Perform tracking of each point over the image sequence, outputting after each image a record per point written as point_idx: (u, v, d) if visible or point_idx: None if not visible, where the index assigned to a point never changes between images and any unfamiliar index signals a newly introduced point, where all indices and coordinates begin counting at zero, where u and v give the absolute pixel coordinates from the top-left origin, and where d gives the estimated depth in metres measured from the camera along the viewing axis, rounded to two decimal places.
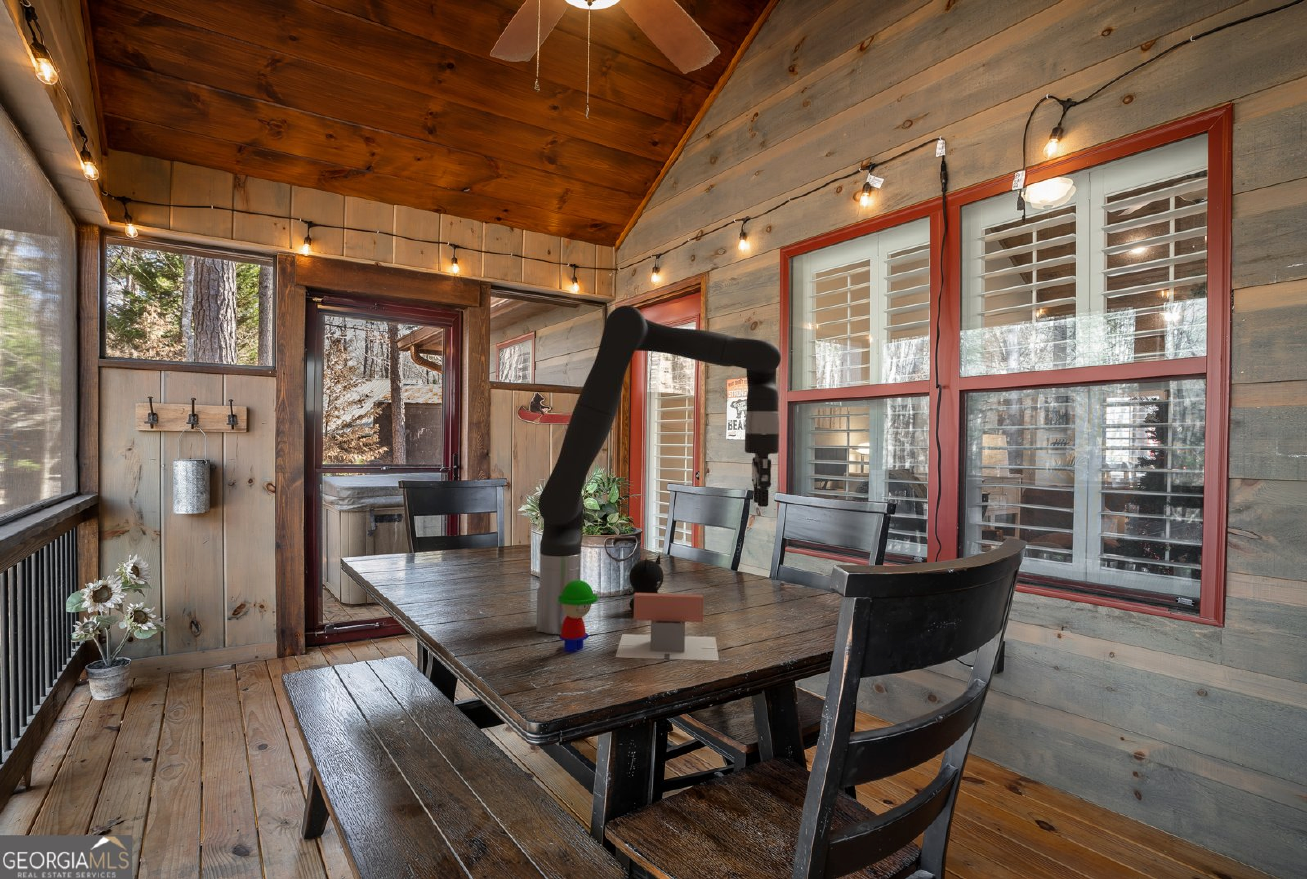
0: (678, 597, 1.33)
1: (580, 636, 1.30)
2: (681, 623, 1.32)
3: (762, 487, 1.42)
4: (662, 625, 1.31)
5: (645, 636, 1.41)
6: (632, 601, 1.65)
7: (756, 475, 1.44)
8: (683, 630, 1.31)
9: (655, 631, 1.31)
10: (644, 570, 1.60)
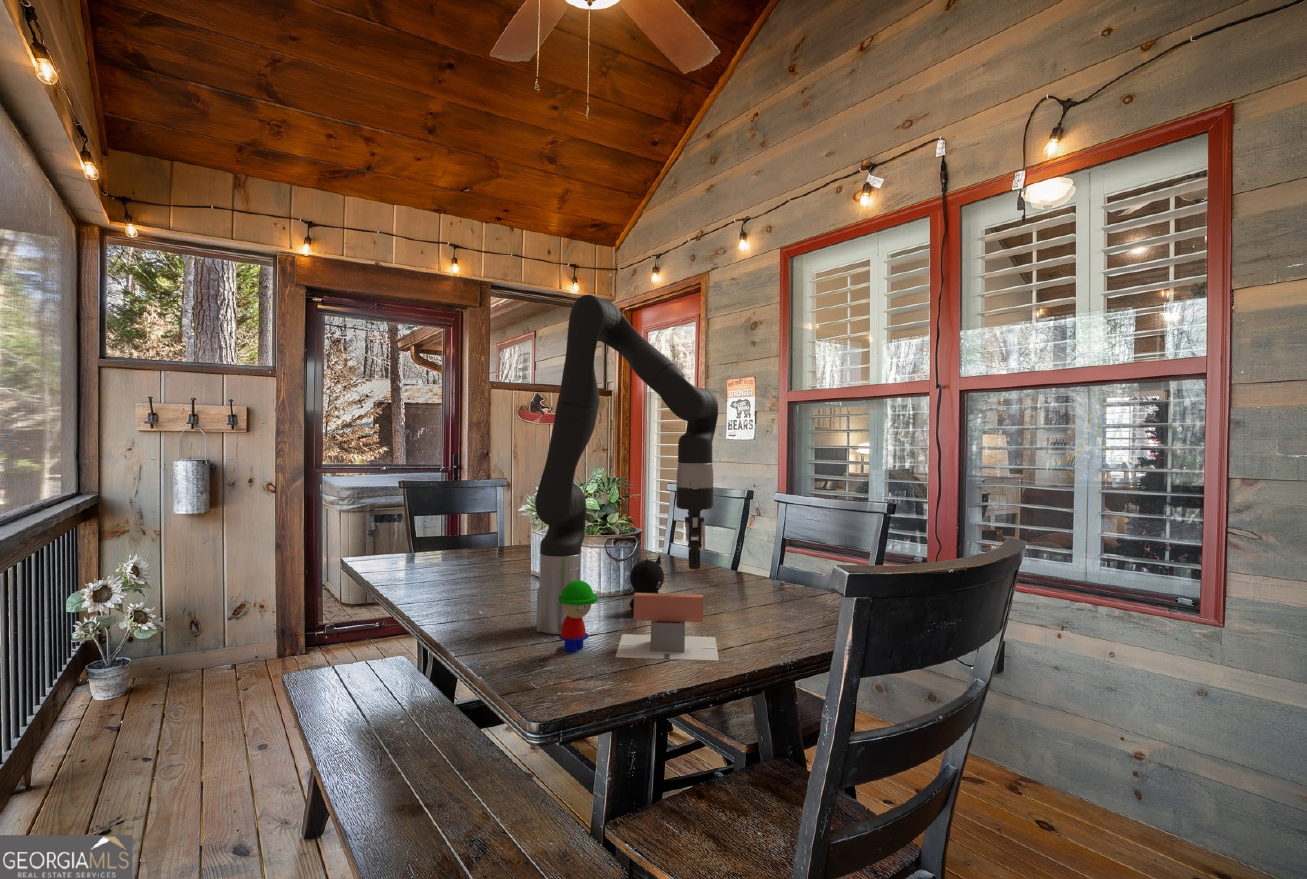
0: (678, 597, 1.33)
1: (580, 636, 1.30)
2: (681, 623, 1.32)
3: (692, 548, 1.28)
4: (662, 625, 1.31)
5: (645, 636, 1.41)
6: (632, 601, 1.64)
7: (687, 534, 1.31)
8: (683, 630, 1.31)
9: (655, 631, 1.31)
10: (645, 570, 1.60)
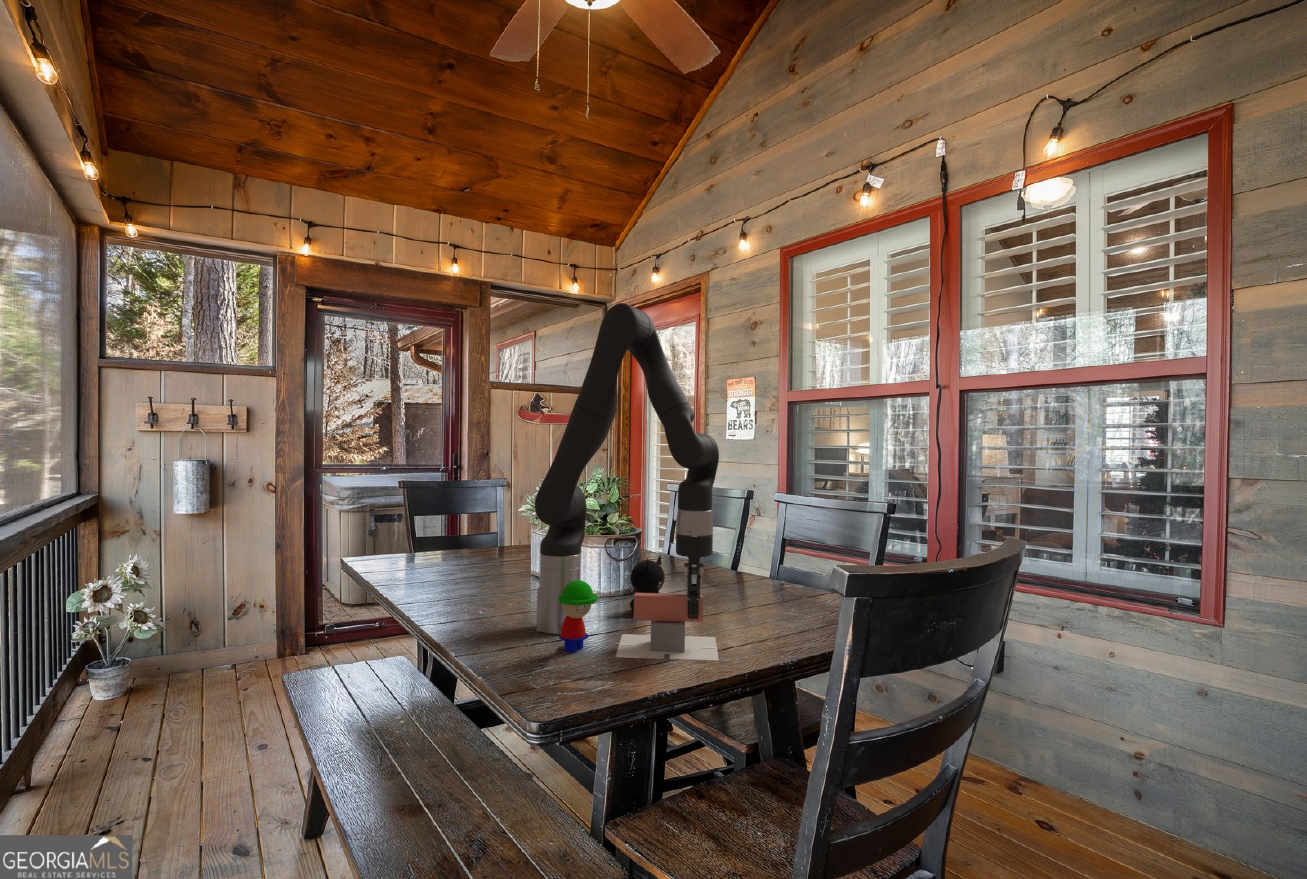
0: (678, 597, 1.33)
1: (580, 636, 1.30)
2: (681, 623, 1.32)
3: (691, 599, 1.31)
4: (662, 625, 1.31)
5: (645, 636, 1.41)
6: (633, 602, 1.64)
7: (686, 585, 1.32)
8: (683, 630, 1.31)
9: (655, 631, 1.31)
10: (646, 570, 1.59)
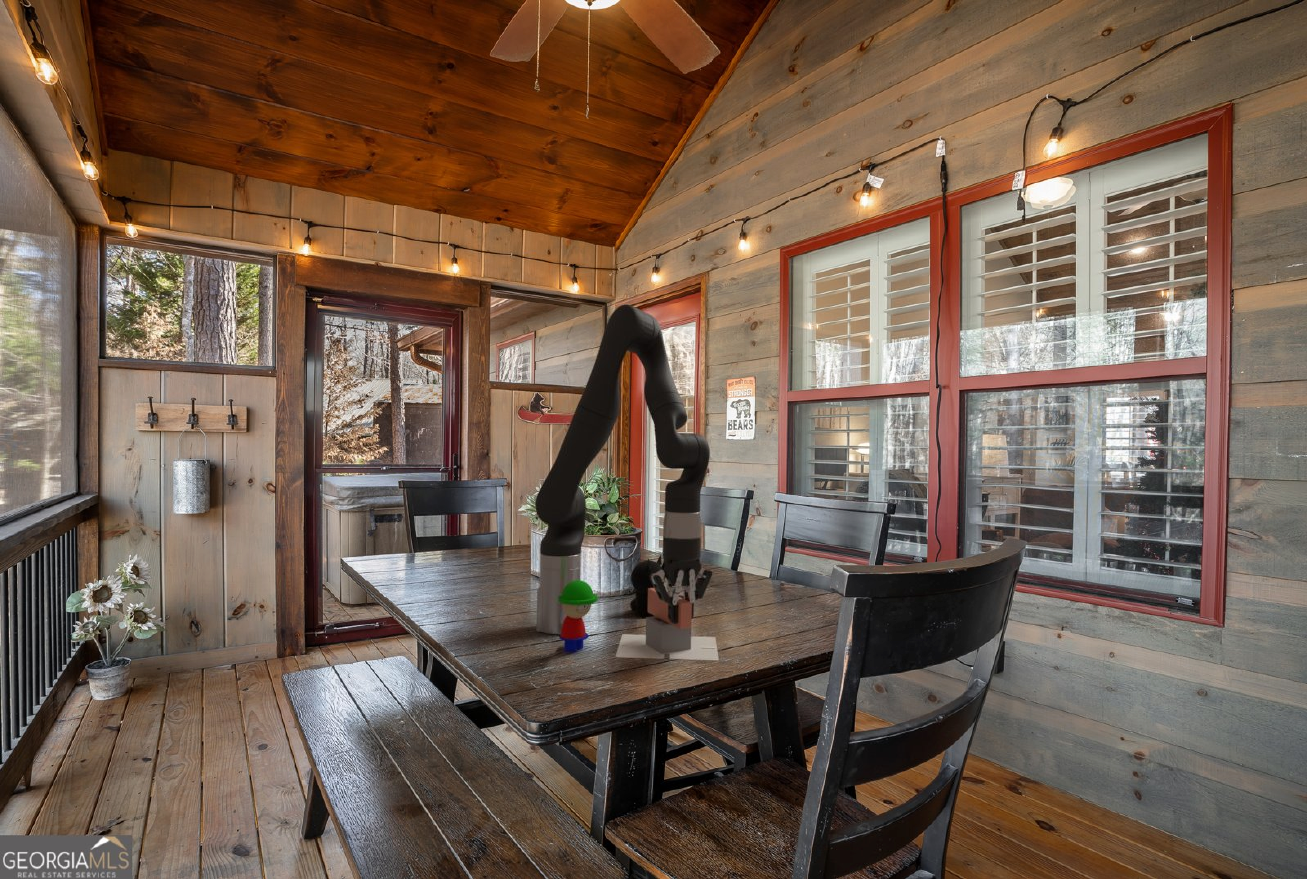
0: None
1: (580, 636, 1.30)
2: (663, 624, 1.31)
3: None
4: (651, 621, 1.34)
5: (645, 636, 1.41)
6: (633, 602, 1.64)
7: (667, 586, 1.30)
8: (661, 631, 1.30)
9: (648, 625, 1.35)
10: (647, 571, 1.59)
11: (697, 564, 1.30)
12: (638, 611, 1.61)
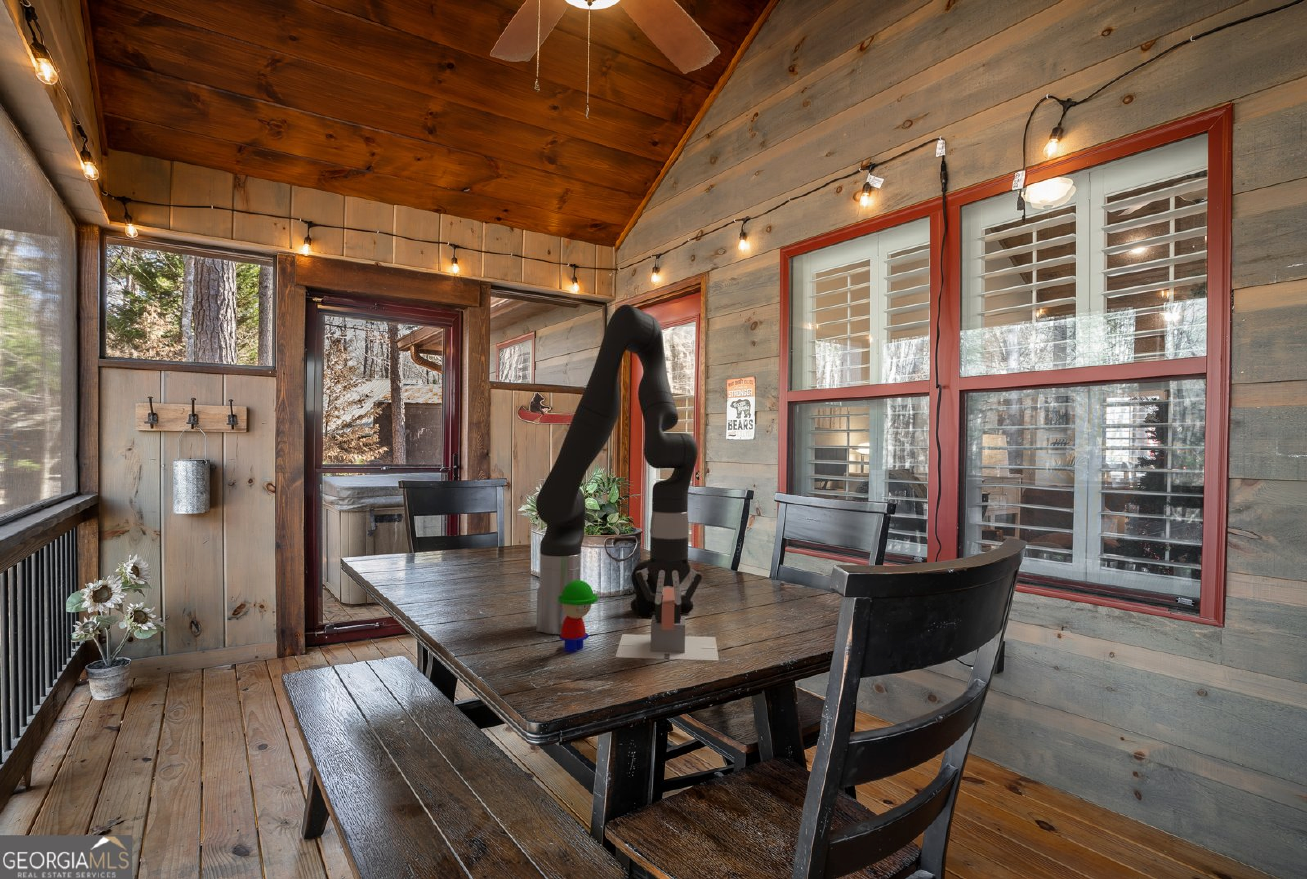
0: (663, 598, 1.32)
1: (580, 636, 1.30)
2: (655, 623, 1.31)
3: None
4: (652, 619, 1.35)
5: (645, 636, 1.41)
6: (633, 602, 1.63)
7: None
8: (651, 629, 1.31)
9: None
10: None
11: (684, 566, 1.28)
12: (638, 611, 1.61)
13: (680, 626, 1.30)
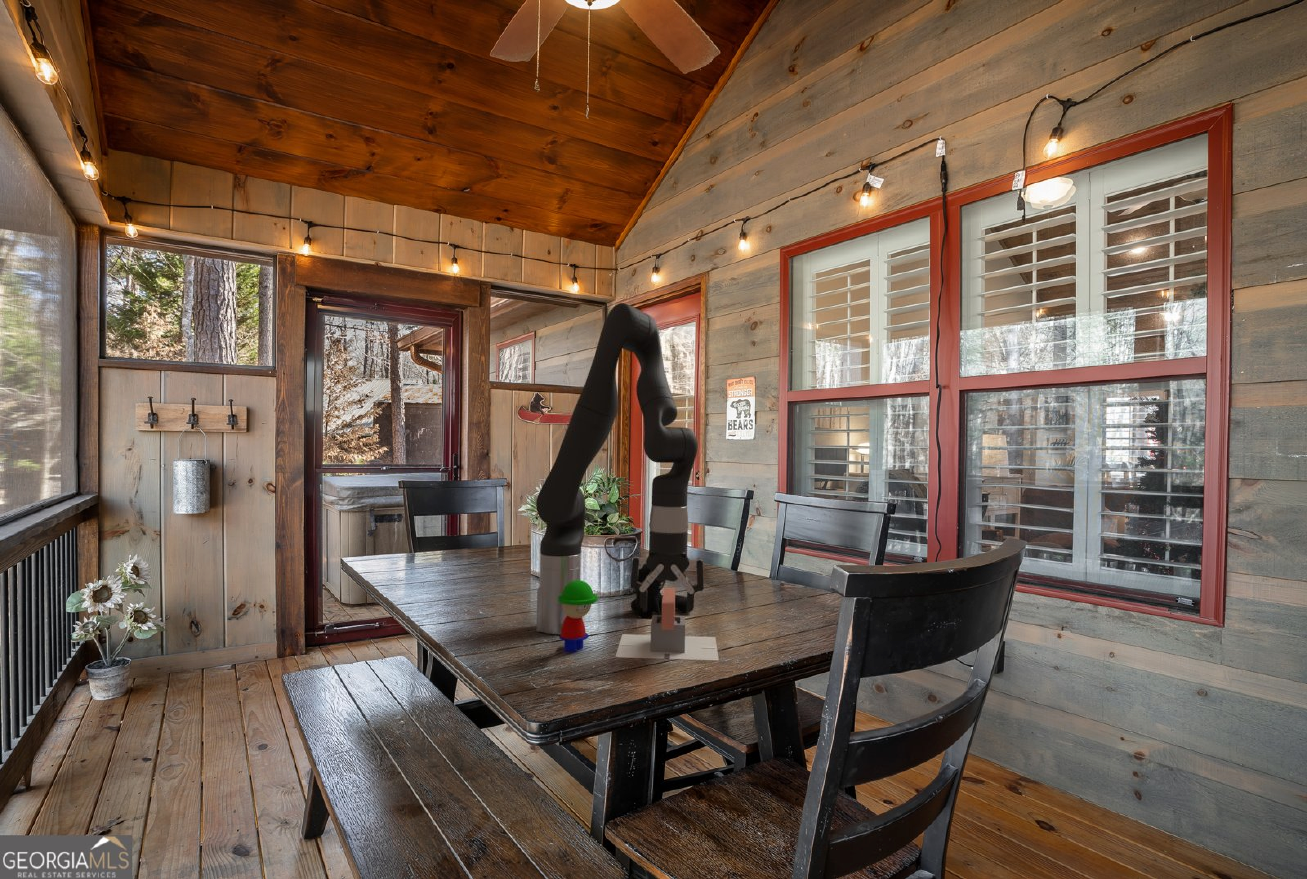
0: (663, 598, 1.32)
1: (580, 636, 1.30)
2: (655, 623, 1.31)
3: None
4: (652, 619, 1.35)
5: (645, 636, 1.41)
6: (634, 602, 1.63)
7: None
8: None
9: None
10: (648, 571, 1.59)
11: (681, 561, 1.28)
12: (639, 611, 1.61)
13: (680, 626, 1.31)
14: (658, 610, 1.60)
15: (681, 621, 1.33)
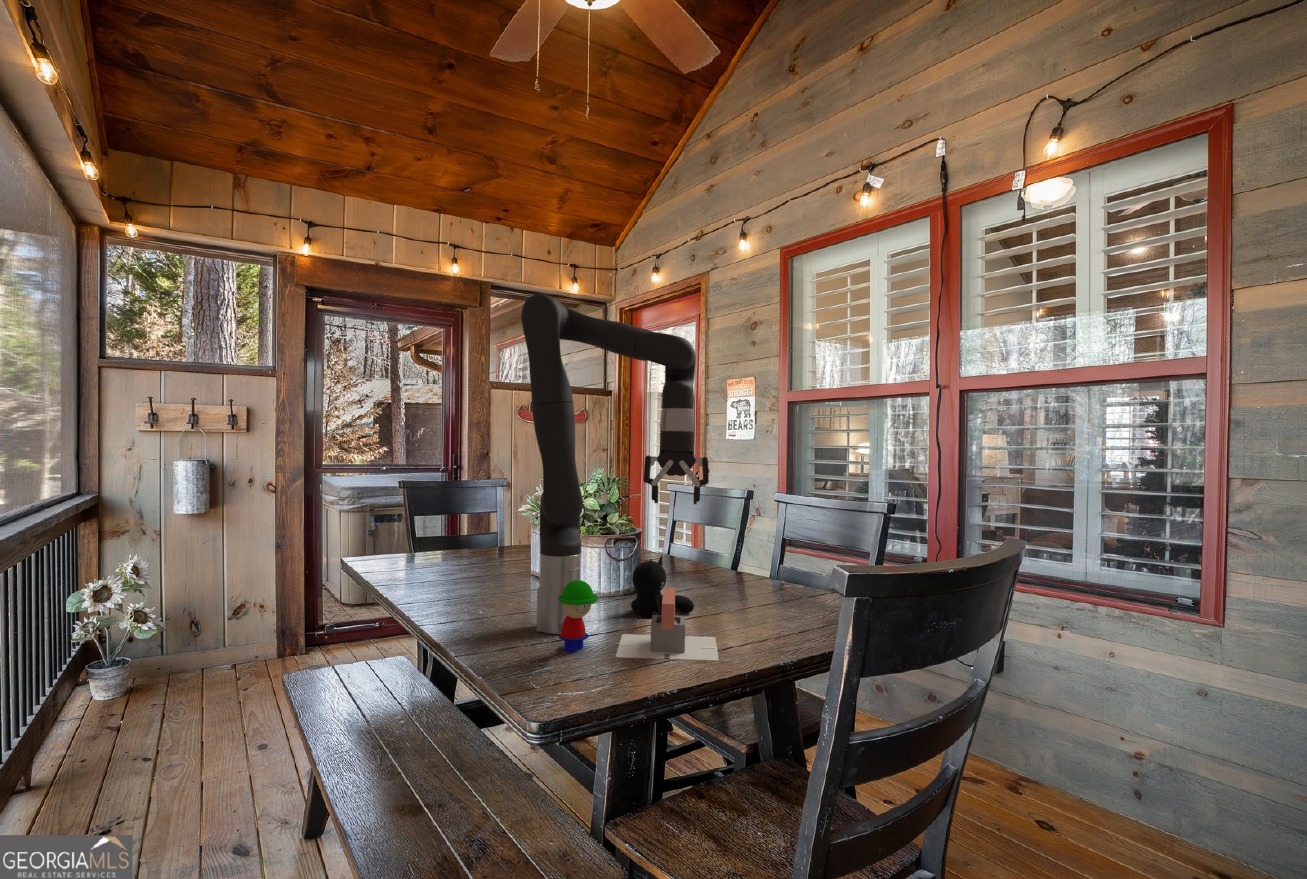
0: (663, 598, 1.32)
1: (580, 636, 1.30)
2: (655, 623, 1.31)
3: None
4: (652, 619, 1.35)
5: (645, 636, 1.41)
6: (634, 603, 1.63)
7: None
8: None
9: None
10: (649, 571, 1.59)
11: (688, 457, 1.43)
12: (640, 612, 1.60)
13: (680, 626, 1.31)
14: (659, 610, 1.59)
15: (681, 621, 1.33)
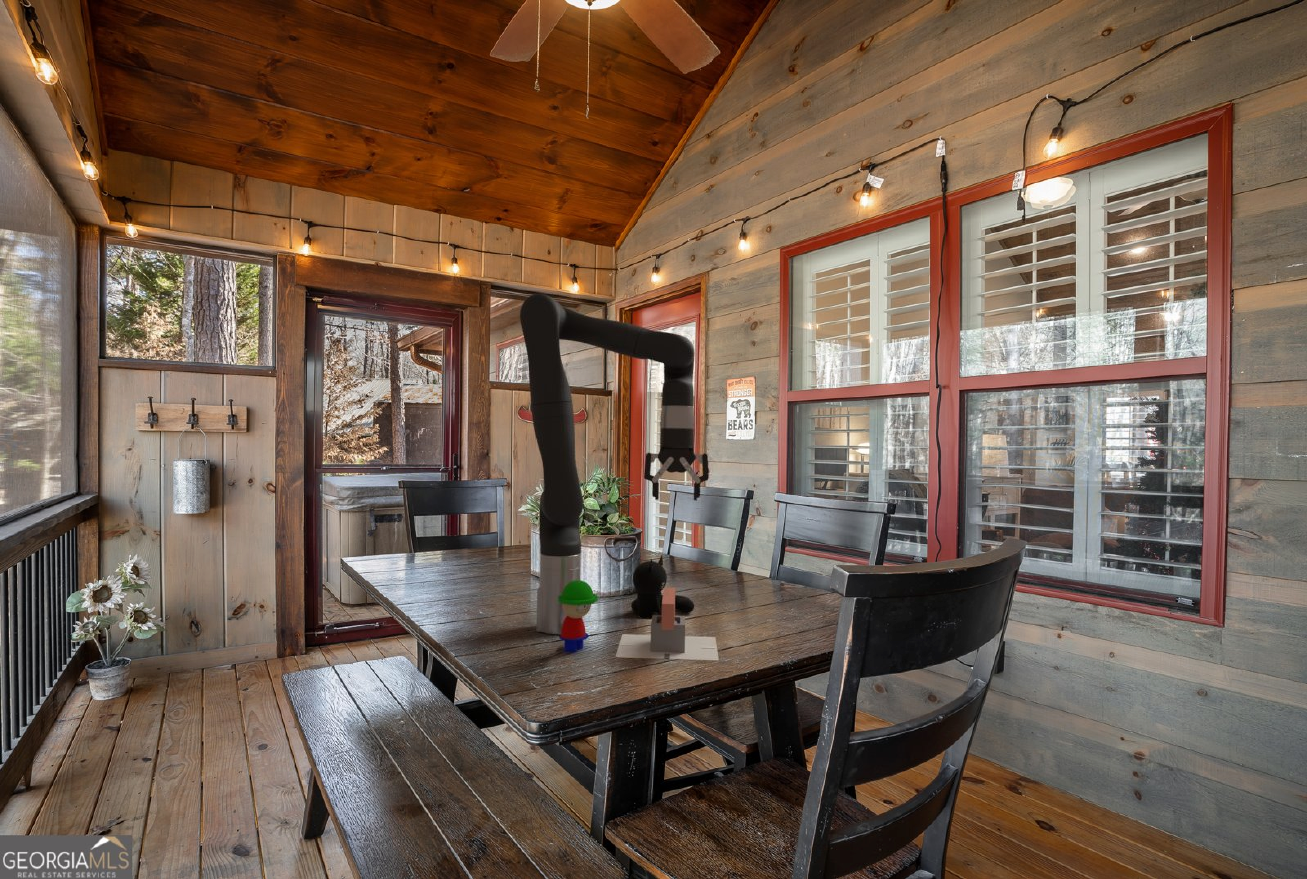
0: (663, 598, 1.32)
1: (580, 636, 1.30)
2: (655, 623, 1.31)
3: None
4: (652, 619, 1.35)
5: (645, 636, 1.41)
6: (635, 603, 1.63)
7: None
8: None
9: None
10: (649, 571, 1.59)
11: (689, 454, 1.45)
12: (640, 612, 1.60)
13: (680, 626, 1.31)
14: (659, 610, 1.59)
15: (681, 621, 1.33)
